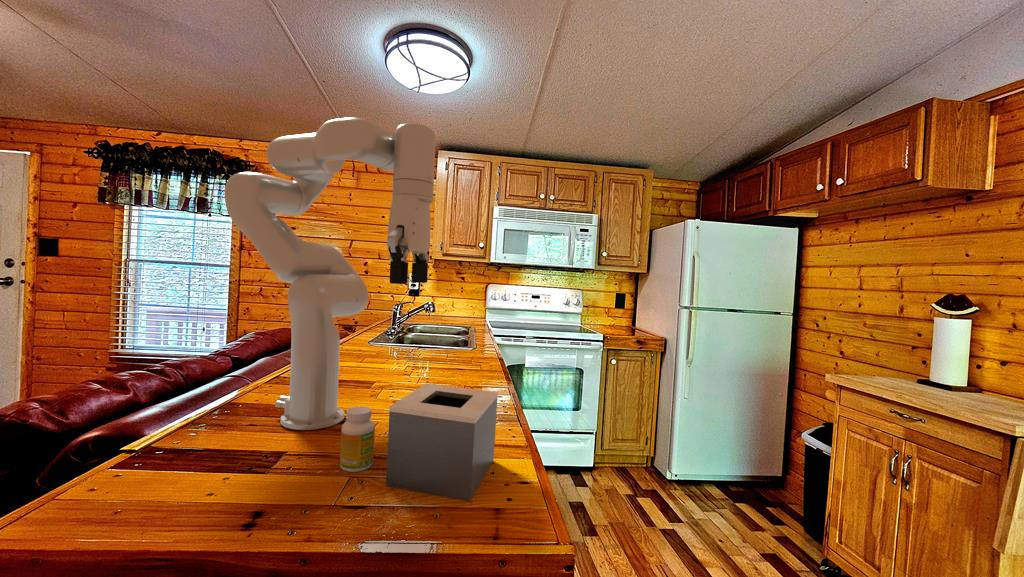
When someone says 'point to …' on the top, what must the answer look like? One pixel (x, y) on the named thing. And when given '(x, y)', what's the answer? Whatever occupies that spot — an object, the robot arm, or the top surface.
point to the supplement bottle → (357, 440)
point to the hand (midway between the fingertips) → (409, 283)
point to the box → (441, 440)
